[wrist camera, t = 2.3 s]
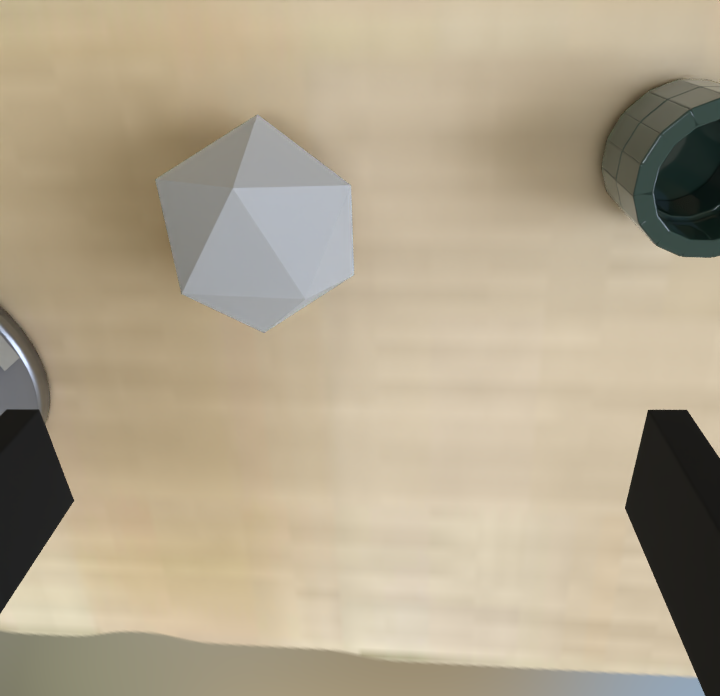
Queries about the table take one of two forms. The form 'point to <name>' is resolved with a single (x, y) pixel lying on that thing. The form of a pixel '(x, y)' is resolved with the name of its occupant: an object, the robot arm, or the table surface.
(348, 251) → the die
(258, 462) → the table surface
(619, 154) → the cup
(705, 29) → the table surface
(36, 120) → the table surface
